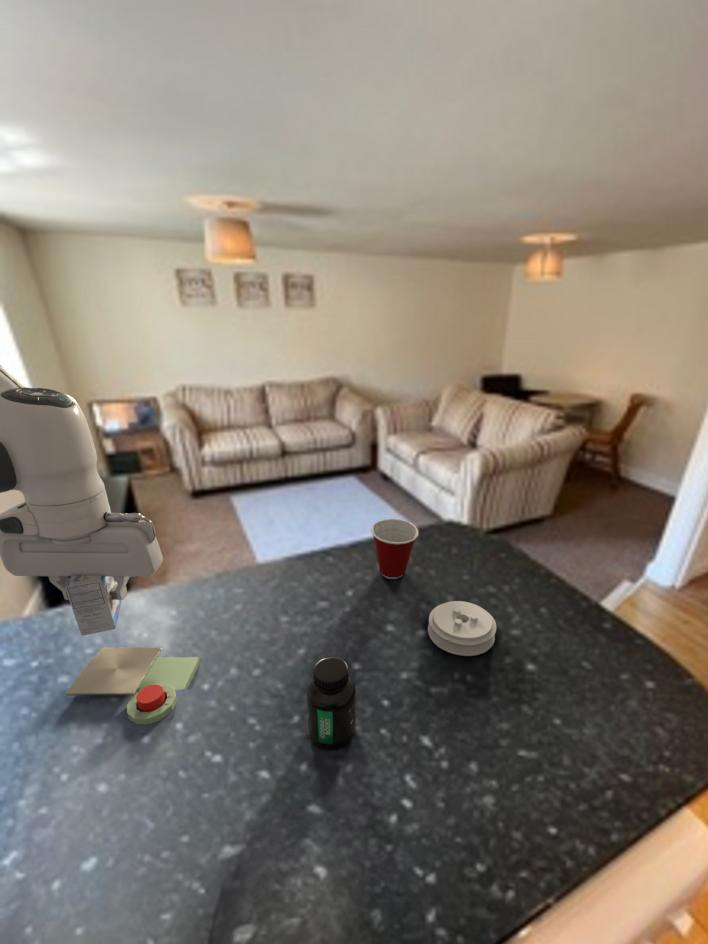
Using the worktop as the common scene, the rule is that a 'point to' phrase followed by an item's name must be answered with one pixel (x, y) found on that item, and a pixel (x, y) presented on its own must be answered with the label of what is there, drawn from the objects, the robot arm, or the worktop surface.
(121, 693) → the plate
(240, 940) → the worktop surface
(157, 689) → the button
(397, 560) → the plastic cup
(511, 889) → the worktop surface
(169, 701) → the green flat piece
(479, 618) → the lid
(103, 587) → the medicine box
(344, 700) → the supplement bottle
